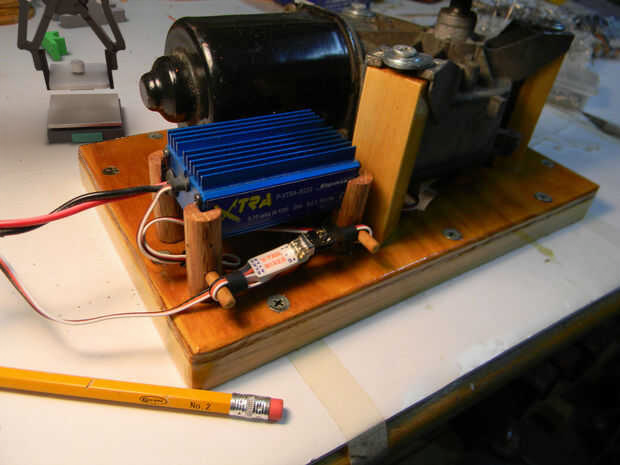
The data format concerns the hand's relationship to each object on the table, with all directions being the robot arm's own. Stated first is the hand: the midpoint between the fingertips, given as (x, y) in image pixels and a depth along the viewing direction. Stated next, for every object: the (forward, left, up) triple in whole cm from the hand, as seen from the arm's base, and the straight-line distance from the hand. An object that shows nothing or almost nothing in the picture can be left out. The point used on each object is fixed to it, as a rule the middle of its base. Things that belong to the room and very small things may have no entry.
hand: (81, 86), depth 88 cm
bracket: (+1, +63, -9) cm, 64 cm away
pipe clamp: (-7, +38, -9) cm, 40 cm away
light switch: (0, 0, 0) cm, 0 cm away
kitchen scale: (0, 0, -8) cm, 8 cm away
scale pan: (0, 0, -5) cm, 5 cm away
